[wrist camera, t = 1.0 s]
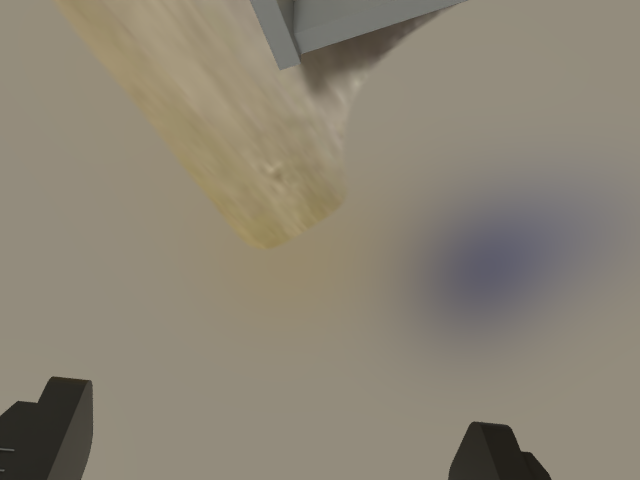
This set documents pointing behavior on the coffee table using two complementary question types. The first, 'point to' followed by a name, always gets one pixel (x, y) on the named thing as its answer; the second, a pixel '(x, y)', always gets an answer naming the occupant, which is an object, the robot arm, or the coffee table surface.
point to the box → (330, 22)
